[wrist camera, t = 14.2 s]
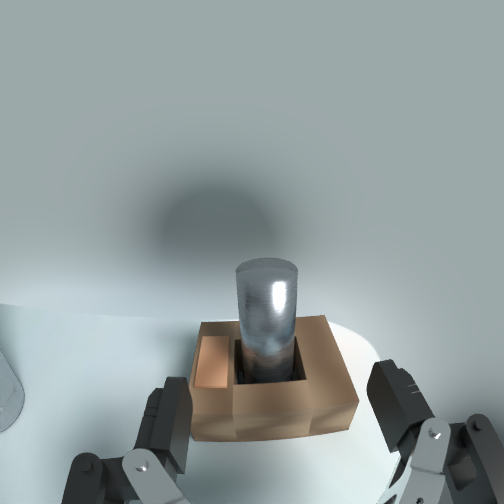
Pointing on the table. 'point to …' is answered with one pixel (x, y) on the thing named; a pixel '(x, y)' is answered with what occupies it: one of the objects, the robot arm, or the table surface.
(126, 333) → the table surface
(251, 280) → the barrel peg
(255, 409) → the block
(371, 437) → the table surface
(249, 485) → the table surface
